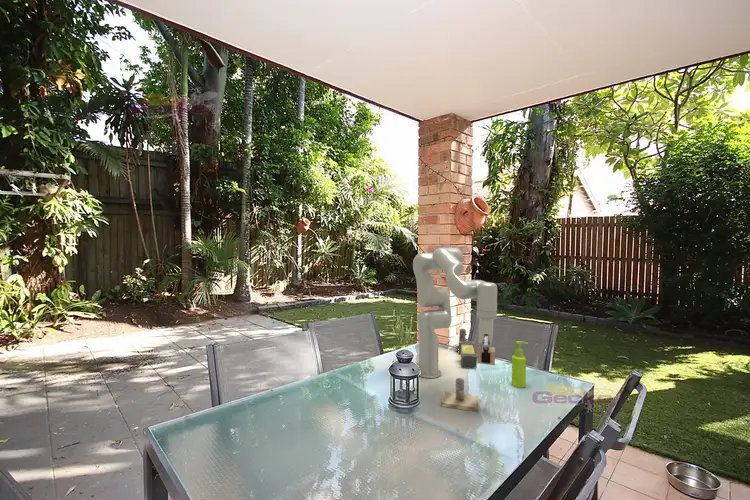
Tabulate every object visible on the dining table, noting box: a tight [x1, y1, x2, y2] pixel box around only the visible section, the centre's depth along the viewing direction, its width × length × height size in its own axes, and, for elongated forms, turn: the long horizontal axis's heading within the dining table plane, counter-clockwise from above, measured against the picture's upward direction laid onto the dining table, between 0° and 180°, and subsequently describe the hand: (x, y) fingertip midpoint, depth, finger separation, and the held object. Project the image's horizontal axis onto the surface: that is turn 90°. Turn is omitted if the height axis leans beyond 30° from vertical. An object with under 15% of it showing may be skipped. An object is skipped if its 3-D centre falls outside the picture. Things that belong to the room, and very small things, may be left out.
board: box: [439, 377, 479, 412], centre depth 144 cm, size 14×11×10 cm
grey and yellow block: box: [455, 328, 478, 368], centre depth 200 cm, size 8×17×30 cm
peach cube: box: [476, 345, 496, 366], centre depth 139 cm, size 6×6×5 cm
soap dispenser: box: [511, 340, 529, 389], centre depth 162 cm, size 6×7×20 cm
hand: (485, 359), depth 139 cm, fingers closed on peach cube, 6 cm apart
